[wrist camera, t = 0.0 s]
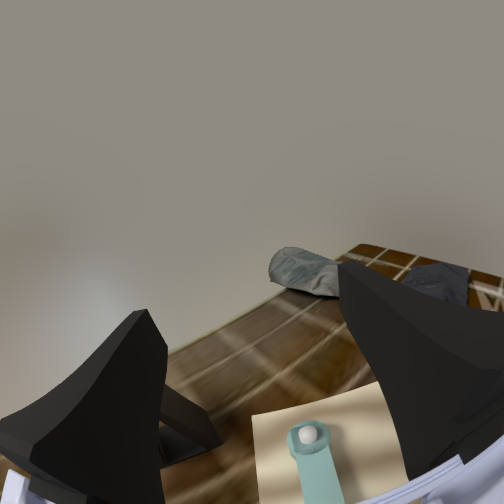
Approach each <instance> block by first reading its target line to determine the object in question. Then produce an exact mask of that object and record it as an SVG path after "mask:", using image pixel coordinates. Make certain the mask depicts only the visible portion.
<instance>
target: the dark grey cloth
mask: <svg viewBox="0 0 504 504" xmlns="http://www.w3.org/2000/svg"><path fill="white" fill-rule="evenodd" d="M468 280H469V276H468V271H467V270H466V269H464V268H460V267H458V266H453V265H452V264H448V263H434V264H431V265H419V266H415V267H413V268H412V269H411V270H410V272H409V273H408V274H407V276H406V278H405V279H403V281H402V282H401V284H403V285H405V286H408V287H410V288H412V289H415V290H417V291H419V292H422V293H424V294H427V295H430V296H433V297H436V298H439V299H442V300H445V301H448V302H451V303H455V304H459V305H463V306H467V300H468V295H467V292H468Z"/></svg>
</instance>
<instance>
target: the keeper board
mask: <svg viewBox="0 0 504 504" xmlns="http://www.w3.org/2000/svg"><path fill="white" fill-rule="evenodd" d="M307 420H316V421H321V422H322V423H324V424H325V425H326V426H327V427H328V428H329V430H330V434H331V449H330V453H331V456H332V459H333V463H334V466H335V470H336V473H337V477H338V480H339V484H340V487H341V491H342V494H343V498H344V501H345V504H355V503H358V502H361V501H364V500H367V499H370V498H372V497H375V496H378V495H380V494H383V493H385V492H387V491H390V490H392V489H394V488H397V487H399V486H401V485H403V484H406V483H408V482H409V480H408V477H407V475H406V470H405V465H404V460H403V456H402V452H401V448H400V444H399V440H398V437H397V433H396V430H395V427H394V423H393V420H392V417H391V415H390V412H389V409H388V406H387V403H386V400H385V398H384V395H383V393H382V390H381V388H380V385H379V383H378V381H377V382H374V383H372V384H369V385H366V386H363V387H361V388H358V389H355V390H352V391H349V392H346V393H343V394H340V395H336V396H333V397H330V398H326V399H323V400H319V401H316V402H312V403H308V404H305V405H301V406H296V407H292V408H288V409H284V410H279V411H274V412H269V413H264V414H259V415H253V416H252V424H253V436H254V447H255V458H256V468H257V479H258V489H259V499H260V504H305V503H304V498H303V493H302V488H301V483H300V478H299V473H298V467H297V462H296V460H295V459H294V458H293V457H292V456H291V453H290V450H289V448H288V445H287V435H288V433H289V431H290V428H292V427H294V426H295V425H296V424H298V423H300V422H303V421H307ZM424 496H425V495H424ZM422 498H423V496H422V497H420V498H418V499H416V500H414V501H412V502H410V503H408V504H420V501H421V499H422Z"/></svg>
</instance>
